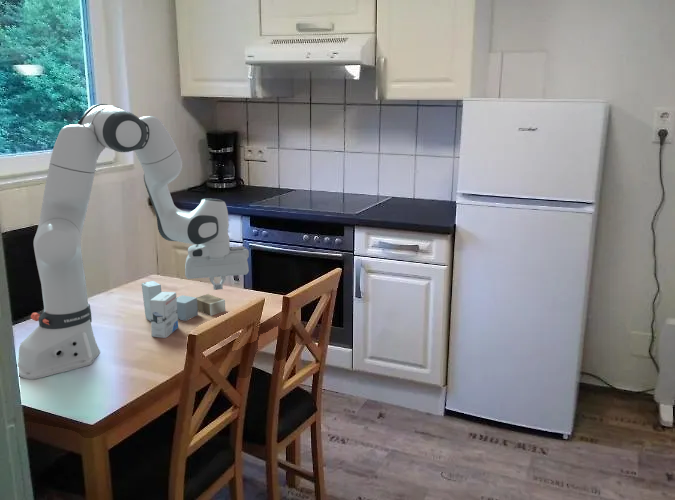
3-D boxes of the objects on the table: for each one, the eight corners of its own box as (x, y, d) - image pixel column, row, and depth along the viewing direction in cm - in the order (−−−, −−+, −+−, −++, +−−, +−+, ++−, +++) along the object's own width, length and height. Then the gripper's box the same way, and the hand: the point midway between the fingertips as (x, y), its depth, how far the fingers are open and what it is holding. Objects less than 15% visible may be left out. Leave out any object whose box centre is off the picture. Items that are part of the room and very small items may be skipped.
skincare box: (165, 320, 201) (162, 284, 198) (152, 323, 199) (148, 287, 196) (157, 315, 206) (154, 279, 203) (144, 318, 203) (140, 282, 200)
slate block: (186, 321, 201) (184, 303, 200) (171, 318, 204) (170, 300, 202) (197, 315, 206) (196, 297, 205) (183, 312, 209) (182, 295, 207)
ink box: (164, 326, 196) (161, 290, 193) (179, 327, 195) (177, 291, 192) (151, 337, 188) (148, 299, 185) (167, 338, 187) (164, 300, 184)
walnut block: (210, 304, 205) (193, 298, 210) (211, 315, 206) (194, 309, 211) (224, 299, 209) (207, 294, 215) (225, 311, 210) (208, 305, 216)
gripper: (247, 243, 207) (249, 283, 211) (183, 247, 202) (186, 288, 206) (249, 248, 201) (251, 289, 205) (183, 252, 197) (186, 294, 200)
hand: (218, 289), depth 205 cm, fingers closed
